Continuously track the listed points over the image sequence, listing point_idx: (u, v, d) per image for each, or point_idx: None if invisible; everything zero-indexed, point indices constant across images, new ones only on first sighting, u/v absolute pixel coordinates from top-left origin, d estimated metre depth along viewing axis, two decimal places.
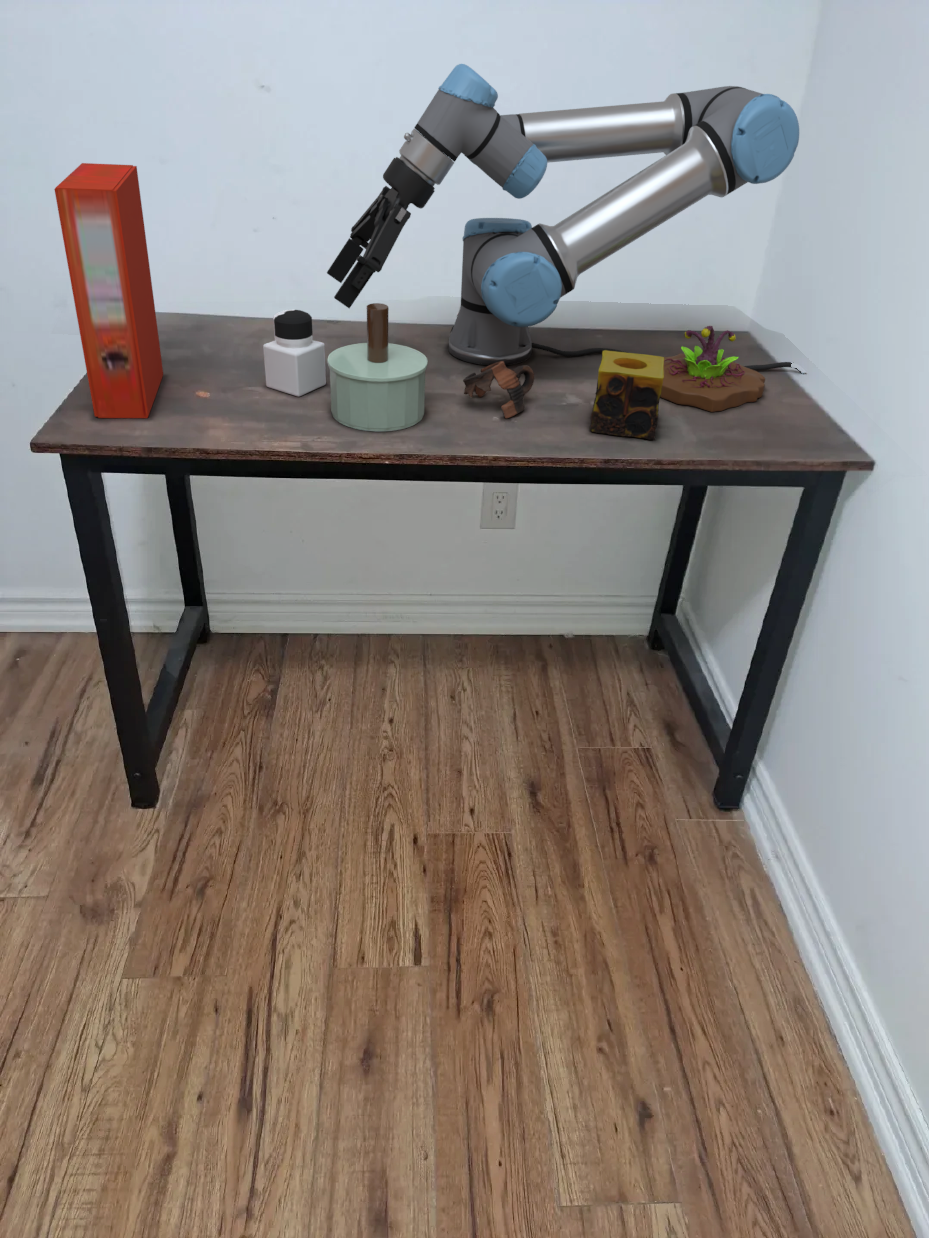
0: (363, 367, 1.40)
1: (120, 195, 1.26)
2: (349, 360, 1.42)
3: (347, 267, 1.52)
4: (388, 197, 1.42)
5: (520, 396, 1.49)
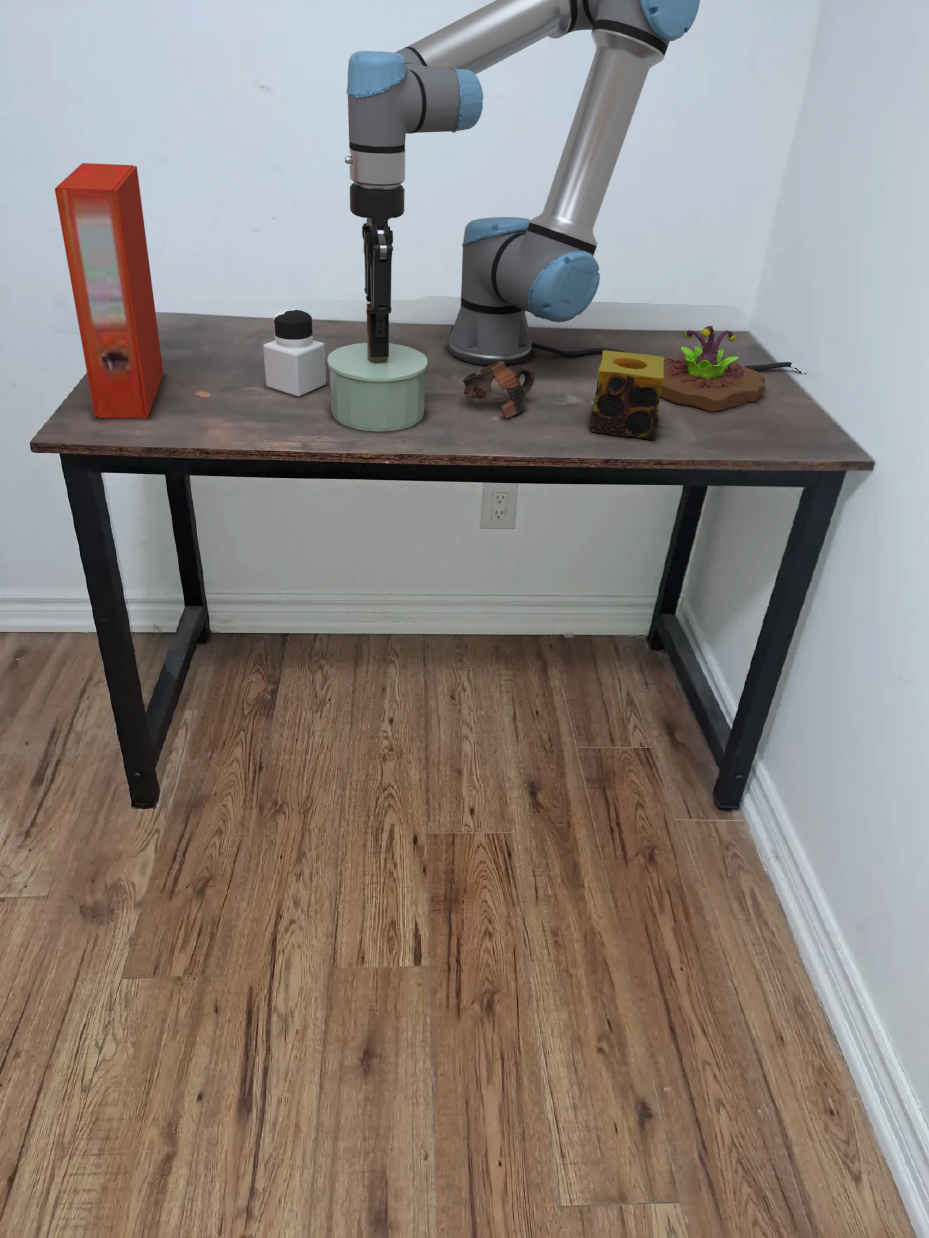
0: (363, 367, 1.40)
1: (120, 195, 1.26)
2: (349, 360, 1.42)
3: None
4: (368, 224, 1.32)
5: (520, 396, 1.49)
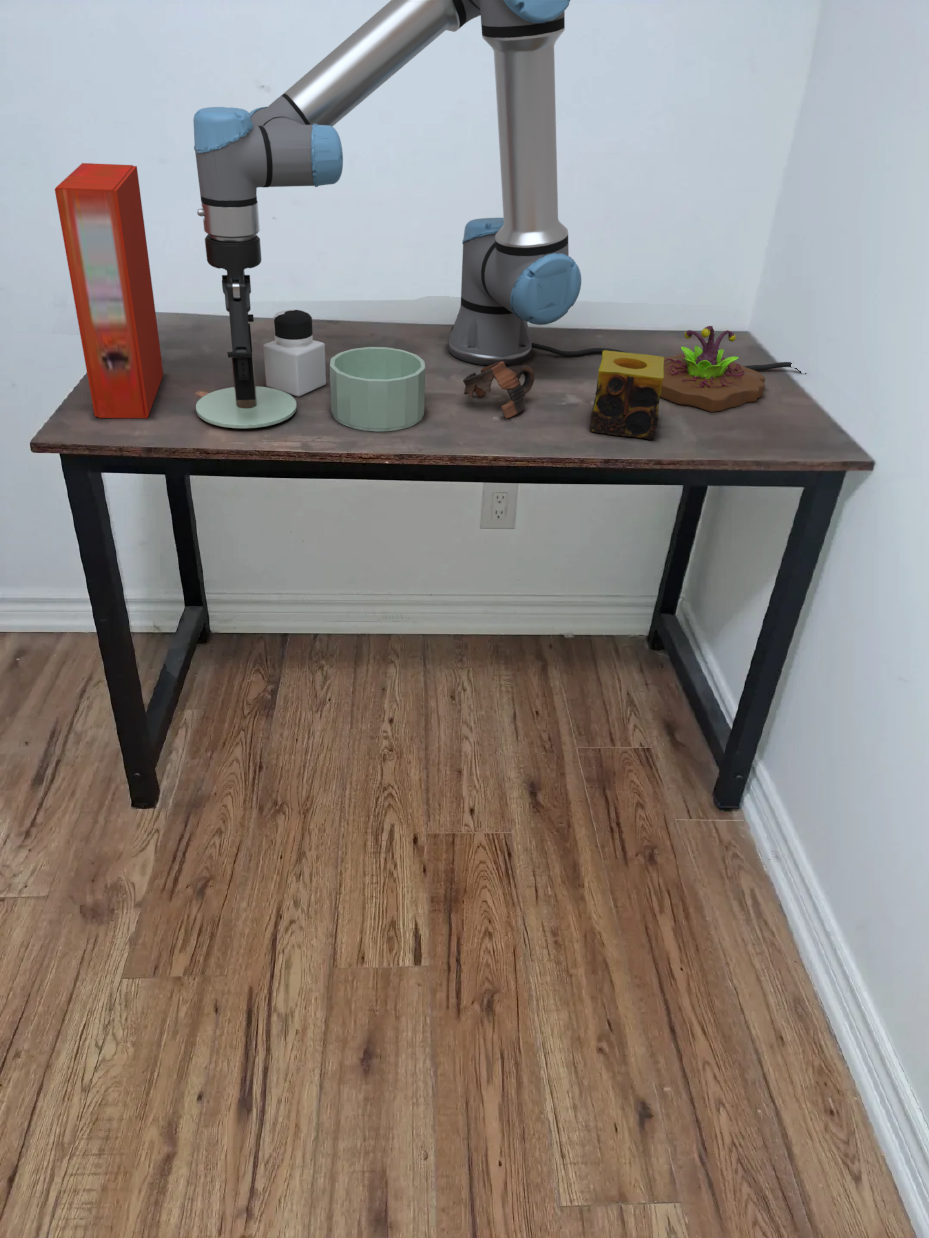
0: (229, 413, 1.42)
1: (120, 195, 1.26)
2: (217, 405, 1.44)
3: None
4: None
5: (520, 396, 1.49)
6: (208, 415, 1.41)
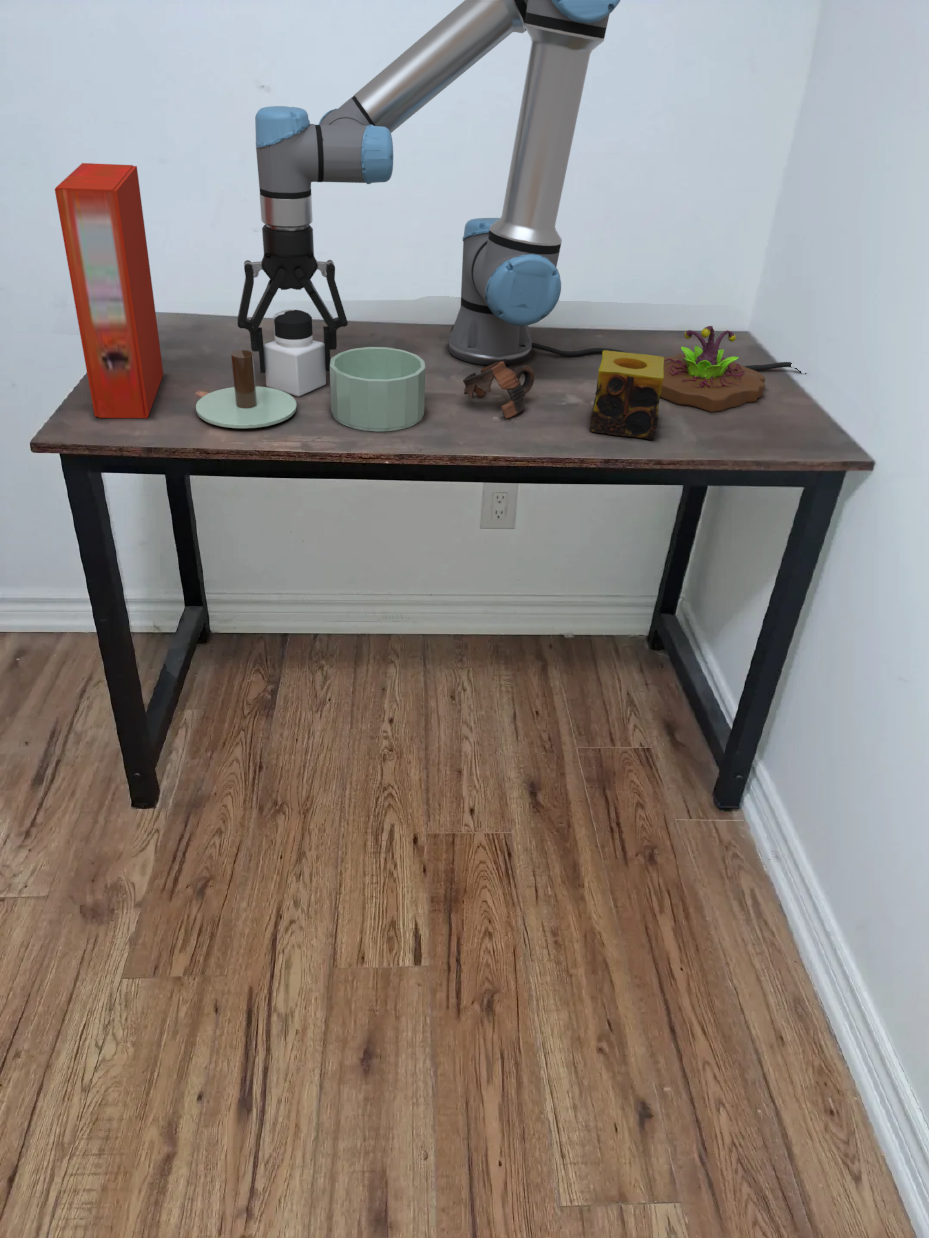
0: (229, 413, 1.42)
1: (120, 195, 1.26)
2: (217, 405, 1.44)
3: (325, 354, 1.52)
4: None
5: (520, 396, 1.49)
6: (208, 415, 1.41)
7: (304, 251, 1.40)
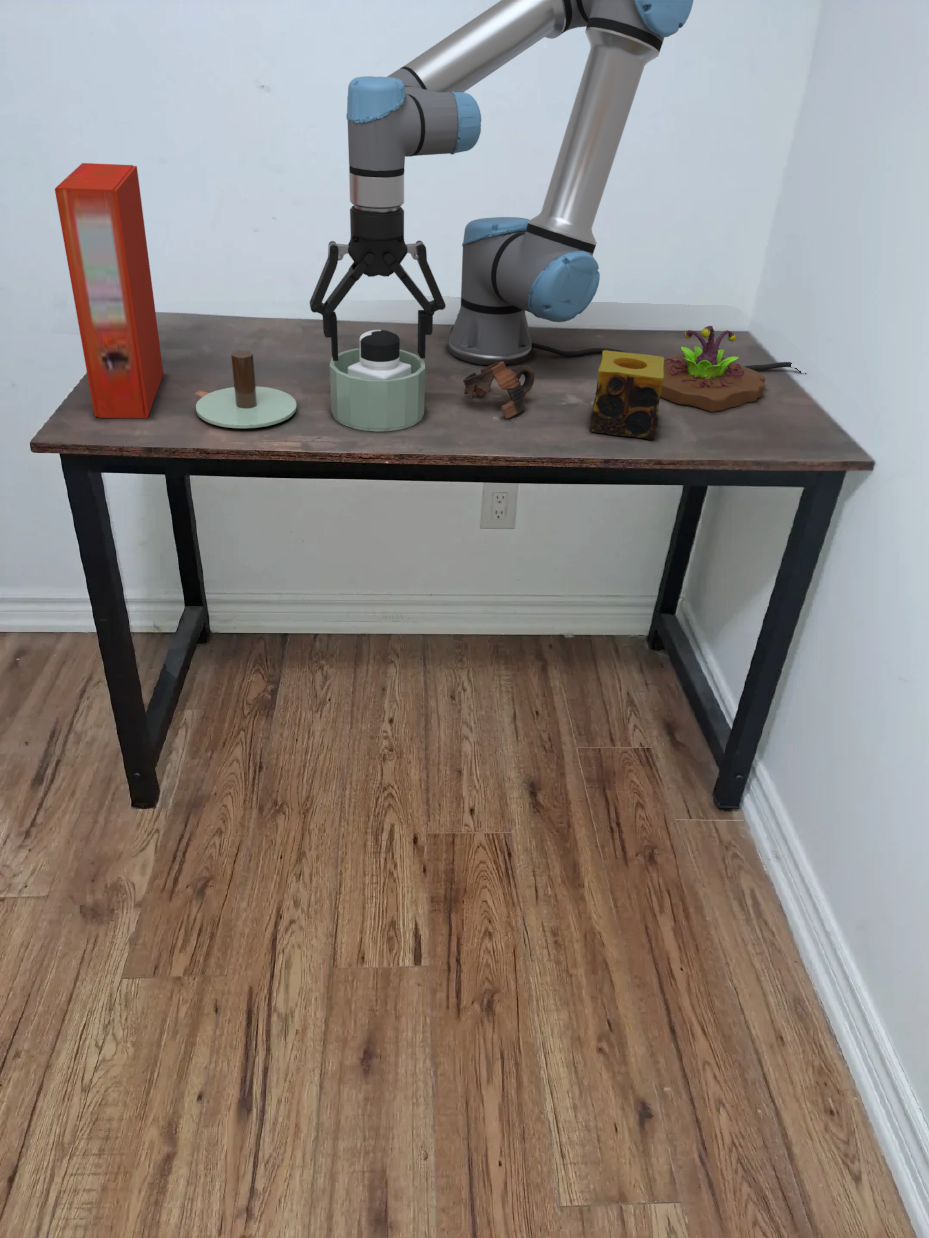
0: (229, 413, 1.42)
1: (120, 195, 1.26)
2: (217, 405, 1.44)
3: (420, 339, 1.41)
4: None
5: (520, 396, 1.49)
6: (208, 415, 1.41)
7: (395, 234, 1.30)
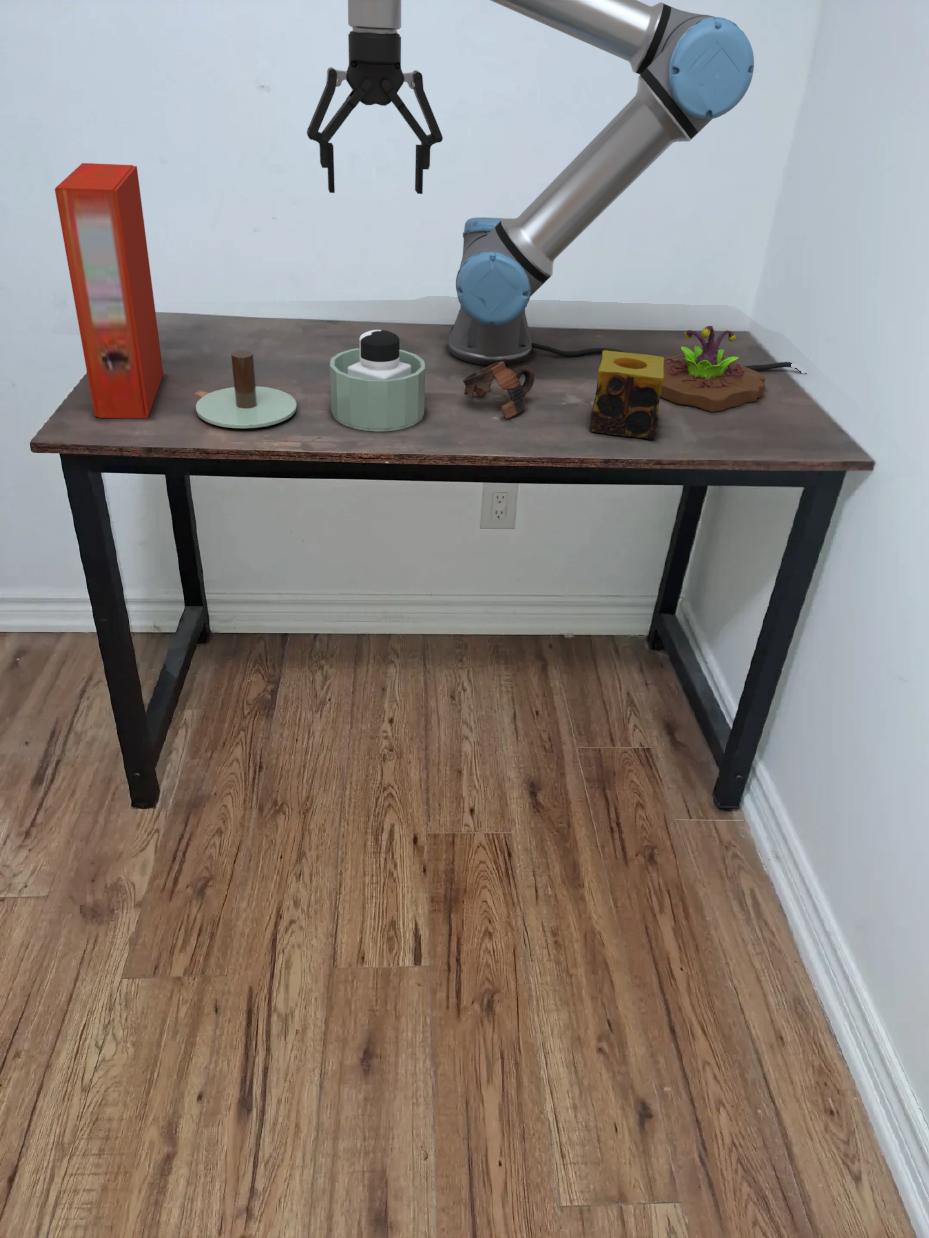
0: (229, 413, 1.42)
1: (120, 195, 1.26)
2: (217, 405, 1.44)
3: (417, 174, 1.45)
4: None
5: (520, 396, 1.49)
6: (208, 415, 1.41)
7: (392, 58, 1.33)
